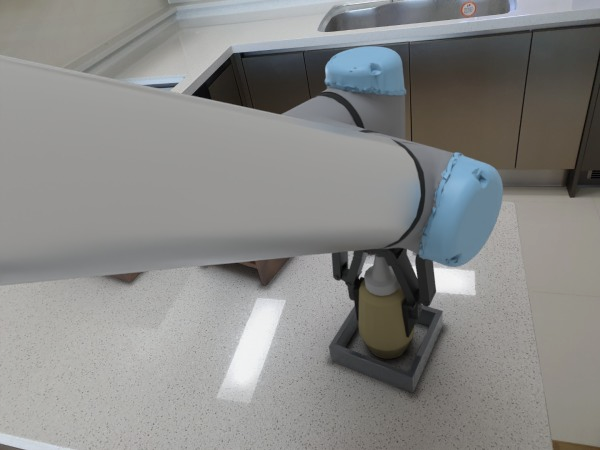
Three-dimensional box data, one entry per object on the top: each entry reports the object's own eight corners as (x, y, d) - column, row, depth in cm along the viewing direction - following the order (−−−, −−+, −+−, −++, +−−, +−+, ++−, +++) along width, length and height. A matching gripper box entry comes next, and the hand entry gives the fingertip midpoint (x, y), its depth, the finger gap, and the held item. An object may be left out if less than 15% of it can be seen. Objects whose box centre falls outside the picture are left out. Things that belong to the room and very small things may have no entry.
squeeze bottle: (403, 374, 65) (397, 283, 54) (351, 354, 69) (337, 266, 58) (422, 332, 70) (421, 242, 59) (373, 316, 74) (364, 229, 63)
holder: (413, 393, 62) (412, 378, 60) (331, 361, 69) (328, 346, 67) (442, 326, 70) (442, 310, 68) (367, 302, 77) (365, 288, 74)
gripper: (470, 185, 50) (461, 323, 64) (317, 162, 60) (338, 286, 74) (449, 225, 46) (444, 365, 59) (287, 193, 55) (315, 320, 69)
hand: (385, 321), depth 66 cm, fingers closed on squeeze bottle, 6 cm apart
